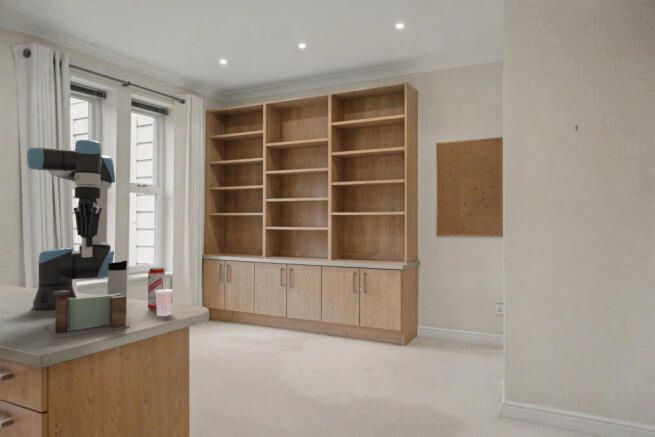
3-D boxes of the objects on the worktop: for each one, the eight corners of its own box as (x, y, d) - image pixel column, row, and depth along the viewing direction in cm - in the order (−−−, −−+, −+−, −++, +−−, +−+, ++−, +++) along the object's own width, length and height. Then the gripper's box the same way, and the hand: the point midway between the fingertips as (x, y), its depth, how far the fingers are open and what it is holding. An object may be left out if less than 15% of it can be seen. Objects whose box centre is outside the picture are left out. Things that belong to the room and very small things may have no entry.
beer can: (152, 307, 172) (152, 267, 172) (167, 307, 172) (167, 267, 172) (144, 310, 166) (145, 269, 166) (160, 310, 166) (161, 269, 166)
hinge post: (51, 333, 131) (52, 291, 131) (68, 331, 134) (68, 290, 134) (54, 336, 128) (55, 293, 128) (71, 333, 131) (72, 291, 131)
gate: (67, 328, 134) (68, 298, 134) (118, 321, 144) (118, 292, 144) (70, 330, 131) (70, 299, 131) (121, 322, 141) (121, 294, 141)
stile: (109, 327, 139) (109, 296, 139) (122, 325, 142) (122, 295, 142) (112, 329, 136) (113, 298, 136) (125, 327, 139) (126, 296, 139)
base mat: (44, 326, 140) (44, 325, 140) (110, 317, 154) (110, 316, 154) (58, 338, 125) (58, 337, 125) (129, 327, 139) (129, 326, 139)
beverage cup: (160, 317, 154) (160, 278, 155) (151, 314, 158) (152, 276, 159) (175, 314, 159) (176, 276, 159) (167, 312, 163) (167, 275, 163)
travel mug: (119, 317, 153) (120, 261, 154) (103, 316, 155) (104, 261, 155) (131, 313, 160) (131, 260, 160) (115, 313, 161) (115, 259, 161)
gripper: (65, 186, 145) (65, 256, 144) (87, 185, 138) (86, 258, 137) (88, 188, 151) (87, 255, 151) (109, 186, 144) (109, 257, 144)
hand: (86, 256), depth 144 cm, fingers closed
